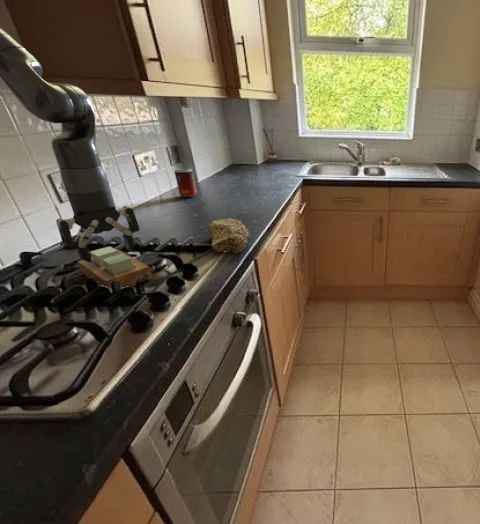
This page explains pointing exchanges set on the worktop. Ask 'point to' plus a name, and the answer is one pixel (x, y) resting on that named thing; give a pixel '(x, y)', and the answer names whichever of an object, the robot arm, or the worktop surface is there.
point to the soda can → (185, 182)
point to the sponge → (228, 235)
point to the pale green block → (117, 264)
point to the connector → (125, 277)
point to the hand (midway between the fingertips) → (110, 255)
